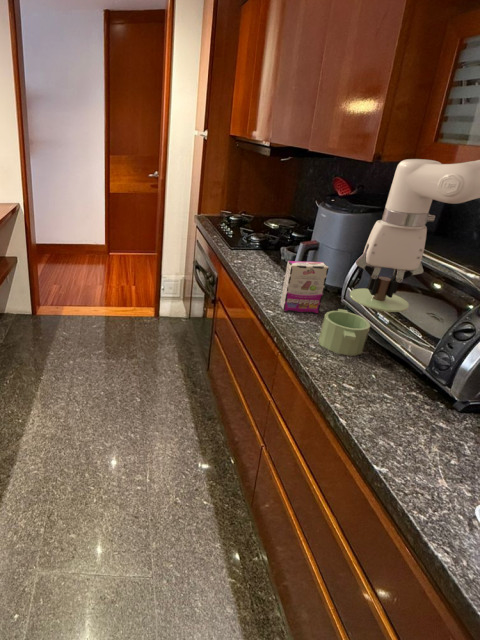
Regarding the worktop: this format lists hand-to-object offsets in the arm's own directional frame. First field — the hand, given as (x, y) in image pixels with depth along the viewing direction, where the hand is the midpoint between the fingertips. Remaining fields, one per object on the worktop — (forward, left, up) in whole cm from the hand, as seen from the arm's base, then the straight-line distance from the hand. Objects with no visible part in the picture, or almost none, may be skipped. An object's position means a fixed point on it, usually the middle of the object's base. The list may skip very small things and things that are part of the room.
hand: (380, 293), depth 91 cm
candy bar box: (+13, -30, -22) cm, 39 cm away
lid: (0, 0, -2) cm, 2 cm away
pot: (+3, -10, -21) cm, 24 cm away
